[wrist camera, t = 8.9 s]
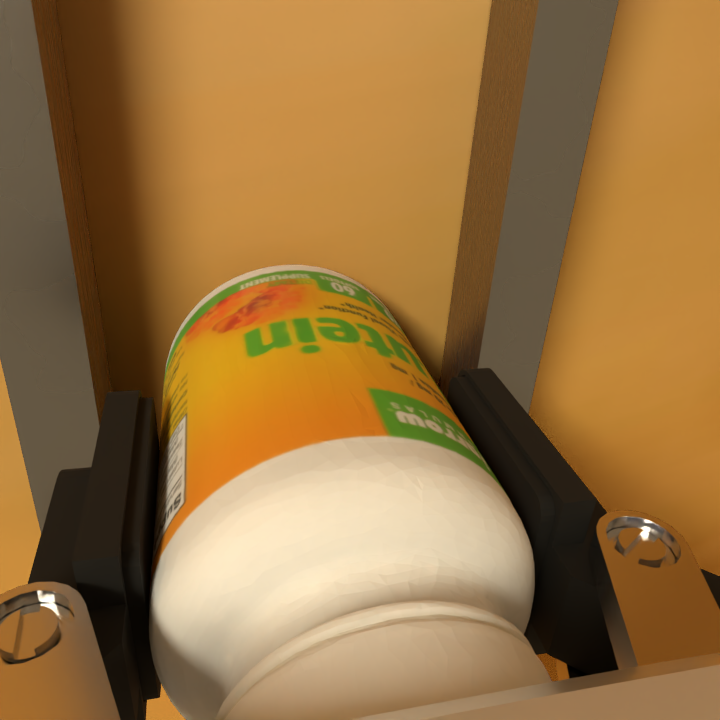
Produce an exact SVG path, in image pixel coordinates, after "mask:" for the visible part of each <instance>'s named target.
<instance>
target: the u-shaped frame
mask: <svg viewBox="0 0 720 720" xmlns="http://www.w3.org/2000/svg"><path fill="white" fill-rule="evenodd" d="M617 5H618V0H492V5H491V12H490V19H489V27H488V34H487V41H486V49H485V56H484V63H483V71H482V78H481V85H480V93H479V100H478V107H477V115H476V122H475V129H474V137H473V144H472V151H471V159H470V166H469V173H468V180H467V188H466V195H465V202H464V210H463V217H462V224H461V232H460V239H459V246H458V254H457V261H456V268H455V276H454V283H453V290H452V298H451V305H450V312H449V320H448V327H447V334H446V342H445V349H444V356H443V364H442V371H441V378H440V386H439V389H440V390H441V392H442V393H443V395H444V396H445V398H446V400H447V396H448V389H449V383H450V380H451V378H453V377H458V374H459V372H460V371H461V370H462V369H477V368H490V369H491V370H493V372H494V373H495V374H496V375H497V377H498V378H499V379H500V380H501V381H502V383H503V384H504V385H505V386H506V388H507V389H508V390H509V391H510V393H511V394H512V395H513V396H514V398H515V399H516V400H517V401H518V403H519V404H520V405H521V406H522V407H523V409H524V410H525V411H526V412H527V414H528V413H529V409H530V404H531V399H532V395H533V390H534V386H535V381H536V377H537V372H538V367H539V363H540V358H541V354H542V349H543V344H544V340H545V335H546V331H547V326H548V321H549V317H550V312H551V308H552V303H553V299H554V294H555V289H556V285H557V280H558V276H559V271H560V266H561V262H562V257H563V253H564V248H565V243H566V239H567V234H568V230H569V225H570V221H571V216H572V211H573V207H574V202H575V198H576V193H577V188H578V184H579V179H580V175H581V170H582V166H583V161H584V156H585V152H586V147H587V143H588V138H589V133H590V129H591V124H592V120H593V115H594V110H595V106H596V101H597V97H598V92H599V88H600V83H601V78H602V74H603V69H604V65H605V60H606V55H607V51H608V46H609V42H610V37H611V32H612V28H613V23H614V19H615V14H616V10H617ZM0 359H1V364H2V368H3V372H4V376H5V381H6V385H7V389H8V394H9V398H10V402H11V406H12V411H13V415H14V419H15V423H16V428H17V432H18V436H19V440H20V445H21V449H22V453H23V458H24V462H25V466H26V470H27V475H28V479H29V483H30V487H31V492H32V496H33V500H34V504H35V509H36V513H37V517H38V521H39V526H40V530H41V534H42V530H43V527H44V523H45V519H46V516H47V512H48V508H49V505H50V501H51V497H52V494H53V490H54V487H55V483H56V479H57V476H58V474H59V472H60V471H61V470H64V469H75V468H87V467H91V466H92V461H93V456H94V452H95V447H96V442H97V437H98V432H99V428H100V423H101V418H102V413H103V408H104V404H105V399H106V395H107V392H112V386H111V379H110V372H109V365H108V358H107V351H106V345H105V338H104V331H103V324H102V317H101V310H100V303H99V296H98V289H97V282H96V275H95V268H94V262H93V255H92V248H91V241H90V234H89V227H88V220H87V213H86V206H85V199H84V192H83V185H82V179H81V172H80V165H79V158H78V151H77V144H76V137H75V130H74V123H73V116H72V109H71V102H70V96H69V89H68V82H67V75H66V68H65V61H64V54H63V47H62V40H61V33H60V26H59V19H58V13H57V6H56V0H0Z"/></svg>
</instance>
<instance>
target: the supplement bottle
mask: <svg viewBox="0 0 720 720" xmlns="http://www.w3.org/2000/svg"><path fill="white" fill-rule="evenodd" d="M534 588H535V569H534V559H533V552H532V547H531V544H530V541H529V538H528V535H527V533H526V531H525V528H524V526H523V523H522V521H521V519H520V517H519V516H518V514H517V512H516V510H515V509H514V507H513V505H512V503H511V501H510V499H509V497H508V496H507V494H506V492H505V491H504V489H503V488H502V486H501V484H500V483H499V481H498V480H497V478H496V477H495V475H494V473H493V472H492V470H491V469H490V467H489V466H488V464H487V463H486V461H485V460H484V458H483V456H482V455H481V453H480V452H479V451H478V449H477V447H476V446H475V444H474V443H473V441H472V440H471V438H470V436H469V435H468V433H467V432H466V430H465V429H464V427H463V426H462V424H461V423H460V421H459V419H458V418H457V416H456V415H455V413H454V412H453V410H452V408H451V406H450V404H449V403H448V401H447V400H446V398H445V396H444V395H443V393H442V392H441V390H440V389H439V388H438V386H437V385H436V383H435V381H434V380H433V378H432V377H431V375H430V374H429V373H428V371H427V369H426V368H425V366H424V364H423V363H422V361H421V360H420V358H419V356H418V355H417V353H416V352H415V350H414V348H413V347H412V345H411V344H410V342H409V340H408V339H407V337H406V336H405V334H404V332H403V331H402V329H401V327H400V326H399V324H398V323H397V321H396V320H395V318H394V317H393V316H392V314H391V313H390V312H389V310H388V309H387V307H386V306H385V305H384V304H383V303H382V302H381V301H380V300H379V298H378V297H377V296H375V295H374V294H373V293H372V292H371V291H369V290H368V289H367V288H366V287H364V286H363V285H361V284H360V283H358V282H357V281H355V280H353V279H351V278H349V277H347V276H345V275H342V274H340V273H338V272H335V271H332V270H329V269H325V268H321V267H315V266H308V265H279V266H271V267H266V268H261V269H257V270H254V271H251V272H248V273H245V274H242V275H240V276H238V277H235V278H233V279H231V280H229V281H227V282H226V283H224V284H222V285H220V286H219V287H217V288H216V289H214V290H213V291H212V292H210V293H209V294H208V295H206V296H205V297H204V298H203V299H202V300H201V301H200V302H199V303H198V304H197V305H196V306H195V307H194V308H193V310H192V311H191V312H190V313H189V314H188V316H187V317H186V319H185V320H184V322H183V323H182V325H181V326H180V328H179V330H178V332H177V334H176V336H175V338H174V340H173V343H172V346H171V349H170V352H169V355H168V359H167V363H166V369H165V377H164V387H163V402H162V419H161V437H160V451H159V464H158V479H157V494H156V509H155V526H154V542H153V556H152V564H151V580H150V594H149V640H150V647H151V653H152V658H153V663H154V666H155V669H156V672H157V675H158V677H159V680H160V682H161V684H162V686H163V688H164V690H165V691H166V693H167V695H168V697H169V699H170V701H171V702H172V703H173V705H174V706H175V707H176V709H177V710H178V711H179V712H180V714H181V715H182V716H183V717H184V718H185V719H186V720H350V719H355V718H361V717H366V716H371V715H377V714H382V713H387V712H393V711H398V710H403V709H409V708H414V707H419V706H425V705H430V704H435V703H440V702H446V701H451V700H457V699H462V698H467V697H473V696H478V695H483V694H489V693H494V692H500V691H505V690H510V689H516V688H521V687H527V686H532V685H537V684H543V683H548V682H552V680H551V678H550V676H549V674H548V672H547V670H546V669H545V667H544V665H543V663H542V661H541V660H540V659H539V658H538V657H537V655H536V654H535V653H534V650H533V649H532V647H531V645H530V643H529V641H528V640H527V639H526V637H525V636H524V633H525V630H526V627H527V624H528V621H529V618H530V614H531V609H532V604H533V599H534Z"/></svg>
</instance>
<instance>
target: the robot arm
mask: <svg viewBox="0 0 720 720" xmlns="http://www.w3.org/2000/svg"><path fill="white" fill-rule="evenodd" d="M447 401H448V403H449V404H450V406H451V408H452V410H453V412H454V413H455V415H456V416H457V418H458V419H459V421H460V423H461V424H462V426H463V427H464V429H465V430H466V432H467V433H468V435H469V436H470V438H471V440H472V441H473V443H474V444H475V446H476V447H477V449H478V451H479V452H480V453H481V455H482V456H483V458H484V460H485V461H486V463H487V464H488V466H489V467H490V469H491V470H492V472H493V473H494V475H495V477H496V478H497V480H498V481H499V483H500V484H501V486H502V488H503V489H504V491H505V492H506V494H507V496H508V497H509V499H510V501H511V503H512V505H513V507H514V509H515V510H516V512H517V514H518V516H519V517H520V519H521V521H522V523H523V526H524V528H525V531H526V533H527V535H528V538H529V541H530V544H531V547H532V552H533V559H534V569H535V588H534V599H533V604H532V609H531V614H530V618H529V621H528V624H527V627H526V630H525V633H524V636H525V637H526V639H527V640H528V641H529V643H530V645H531V647H532V649H533V650H534V653H535V654H536V655H538V654H544V653H547V654H548V655H550V656H552V657H554V658H556V671H557V676H558V681H554V682H548V683H543V684H537V685H532V686H527V687H521V688H516V689H510V690H505V691H500V692H494V693H489V694H483V695H478V696H473V697H467V698H462V699H457V700H451V701H446V702H440V703H435V704H430V705H425V706H419V707H414V708H409V709H403V710H398V711H393V712H387V713H382V714H377V715H371V716H366V717H361V718H355V719H350V720H720V576H717V575H715V574H712V573H710V572H707V571H705V570H702V569H700V568H699V566H698V563H697V561H696V559H695V557H694V555H693V553H692V551H691V549H690V547H689V545H688V544H687V542H686V541H685V539H684V538H683V536H682V535H681V534H680V533H678V532H677V531H676V530H675V529H674V528H673V527H672V526H670V525H668V524H667V523H665V522H663V521H662V520H660V519H658V518H656V517H653V516H651V515H648V514H646V513H642V512H637V511H632V510H617V511H613V512H609V513H607V512H606V511H605V509H604V508H603V507H602V506H601V504H600V503H599V502H598V501H597V499H596V498H595V497H594V495H593V494H592V493H591V492H590V490H589V489H588V488H587V487H586V485H585V484H584V483H583V482H582V481H581V479H580V478H579V477H578V476H577V474H576V473H575V472H574V471H573V469H572V468H571V467H570V466H569V464H568V463H567V462H566V461H565V459H564V458H563V457H562V456H561V455H560V453H559V452H558V451H557V450H556V448H555V447H554V446H553V445H552V443H551V442H550V441H549V440H548V438H547V437H546V436H545V435H544V433H543V432H542V431H541V430H540V429H539V427H538V426H537V425H536V424H535V422H534V421H533V420H532V419H531V417H530V416H529V415H528V414H527V412H526V411H525V410H524V409H523V407H522V406H521V405H520V404H519V403H518V401H517V400H516V399H515V398H514V396H513V395H512V394H511V393H510V391H509V390H508V389H507V388H506V386H505V385H504V384H503V383H502V381H501V380H500V379H499V378H498V377H497V375H496V374H495V373H494V372H493V370H491V369H490V368H477V369H462V370H461V371H460V372H459V374H458V377H453V378H451V380H450V383H449V389H448V396H447ZM159 451H160V450H159V440H158V431H157V422H156V413H155V404H154V398H153V397H149V398H142V394H141V391H140V390H132V391H117V392H107V395H106V399H105V404H104V408H103V413H102V418H101V423H100V428H99V432H98V437H97V442H96V447H95V452H94V456H93V461H92V466H91V467H87V468H75V469H64V470H61V471H60V472H59V474H58V476H57V479H56V483H55V487H54V490H53V494H52V497H51V501H50V505H49V508H48V512H47V516H46V519H45V523H44V527H43V530H42V534H41V537H40V541H39V545H38V548H37V552H36V556H35V559H34V563H33V567H32V570H31V574H30V577H29V581H28V584H26V585H22V586H18V587H16V588H14V589H12V590H9V591H7V592H5V593H3V594H0V720H146V705H147V700H148V699H154V698H159V697H160V691H161V682H160V680H159V677H158V675H157V672H156V669H155V666H154V663H153V658H152V653H151V647H150V640H149V594H150V580H151V564H152V556H153V542H154V526H155V509H156V494H157V479H158V464H159Z"/></svg>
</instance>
